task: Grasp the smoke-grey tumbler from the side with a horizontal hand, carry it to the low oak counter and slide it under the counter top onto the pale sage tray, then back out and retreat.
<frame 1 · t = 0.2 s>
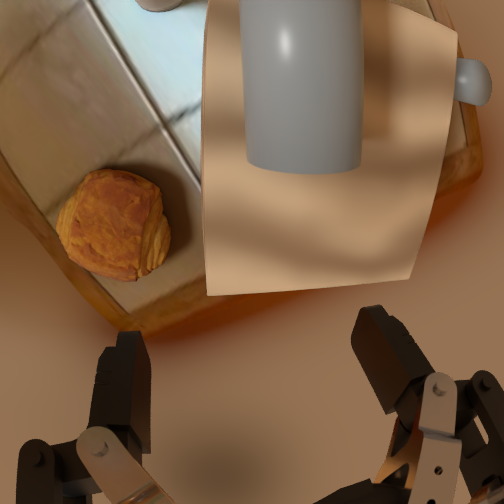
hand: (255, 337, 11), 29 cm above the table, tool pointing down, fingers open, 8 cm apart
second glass: (304, 157, 14), point 22 cm above the table, tilted 90°, touching counter
counter: (277, 114, 34), on the table
croissant: (119, 217, 38), on the table
smoke glass: (417, 73, 33), on the table
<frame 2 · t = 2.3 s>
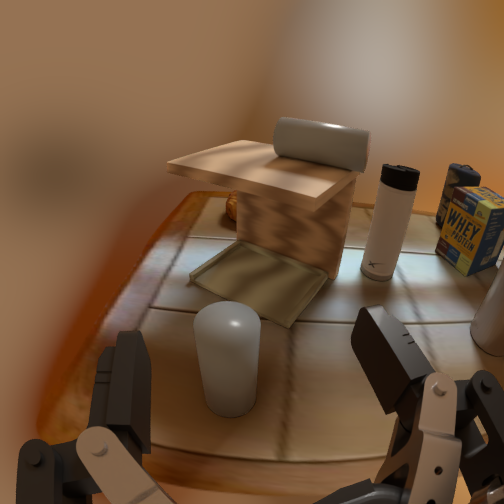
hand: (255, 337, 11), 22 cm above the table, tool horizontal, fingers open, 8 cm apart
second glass: (281, 136, 40), point 22 cm above the table, tilted 90°, touching counter
counter: (260, 279, 50), on the table
protein box: (466, 259, 57), on the table
croissant: (260, 216, 70), on the table
canister: (449, 227, 70), on the table
smoke glass: (230, 396, 31), on the table
travel mug: (376, 272, 52), on the table
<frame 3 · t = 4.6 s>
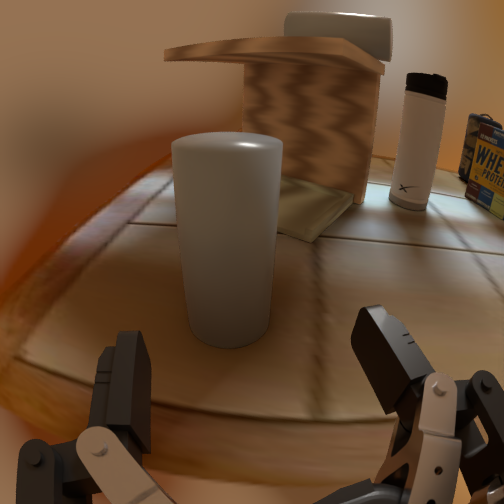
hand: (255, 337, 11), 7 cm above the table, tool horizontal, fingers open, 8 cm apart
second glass: (293, 31, 30), point 22 cm above the table, tilted 90°, touching counter
counter: (271, 199, 39), on the table
protein box: (498, 207, 46), on the table
canister: (473, 183, 59), on the table
smoke glass: (228, 318, 21), on the table
travel mug: (407, 204, 42), on the table
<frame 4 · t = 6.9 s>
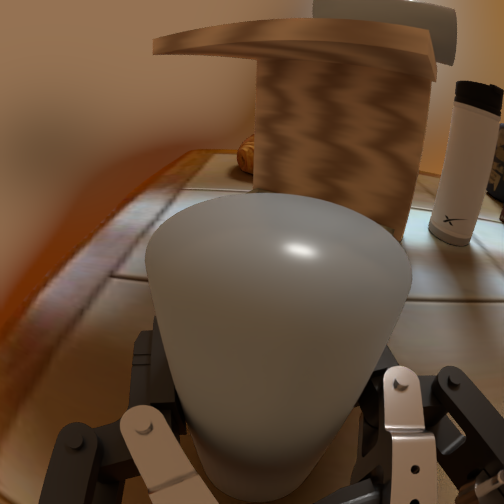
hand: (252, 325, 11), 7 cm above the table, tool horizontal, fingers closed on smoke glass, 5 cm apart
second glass: (322, 17, 21), point 22 cm above the table, tilted 90°, touching counter
counter: (294, 238, 31), on the table
croissant: (282, 171, 52), on the table
canister: (500, 199, 51), on the table
smoke glass: (257, 453, 13), on the table, touching gripper
travel mug: (449, 236, 33), on the table
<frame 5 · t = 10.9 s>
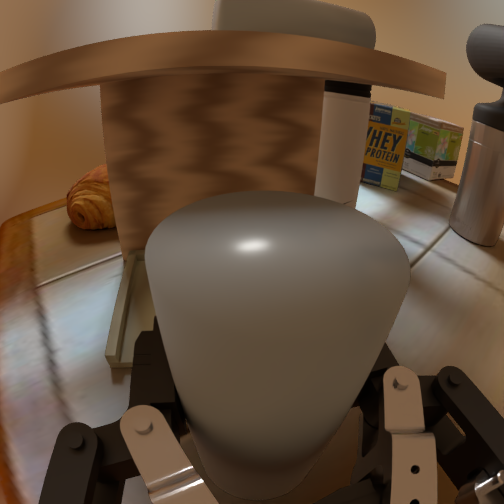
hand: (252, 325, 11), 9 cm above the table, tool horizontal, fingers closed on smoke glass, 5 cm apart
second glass: (217, 21, 18), point 22 cm above the table, tilted 90°, touching counter
tea box: (427, 173, 67), on the table
counter: (223, 297, 26), on the table
protein box: (375, 176, 60), on the table
croissant: (121, 211, 42), on the table
smoke glass: (257, 451, 13), point 2 cm above the table, touching gripper
travel mug: (331, 218, 41), on the table
when the fingers open (9 cm above the table, at t = 14.9 s): smoke glass drops 2 cm, resting on counter.
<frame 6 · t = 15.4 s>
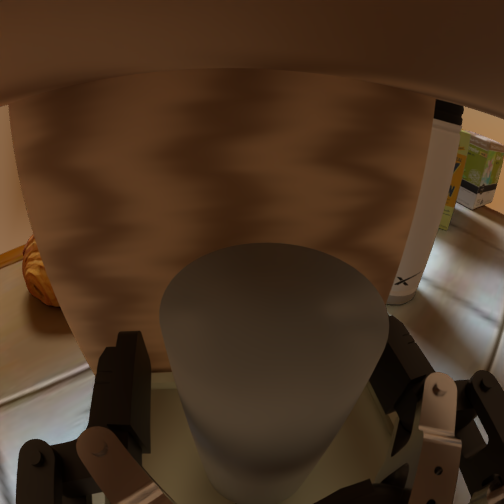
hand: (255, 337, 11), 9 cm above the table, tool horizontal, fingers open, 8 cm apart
tea box: (466, 198, 55), on the table
counter: (255, 465, 14), on the table
protein box: (417, 207, 47), on the table
croissant: (96, 271, 30), on the table
smoke glass: (256, 462, 14), point 1 cm above the table, touching counter
travel mug: (387, 287, 28), on the table
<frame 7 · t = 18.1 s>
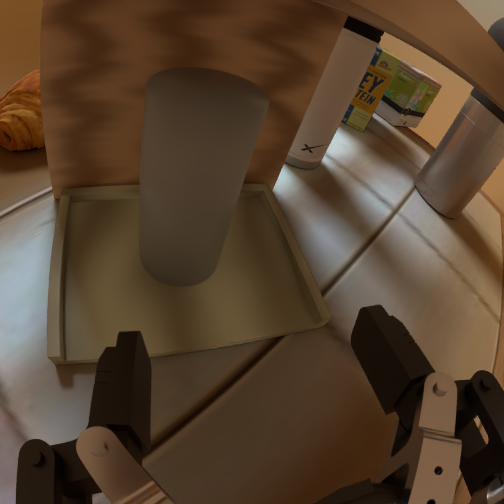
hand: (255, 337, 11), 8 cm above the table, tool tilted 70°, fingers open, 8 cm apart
tea box: (391, 117, 64), on the table
counter: (178, 258, 21), on the table
protein box: (340, 109, 53), on the table
croissant: (54, 124, 28), on the table
smoke glass: (179, 252, 21), point 1 cm above the table, touching counter
travel mug: (296, 156, 36), on the table
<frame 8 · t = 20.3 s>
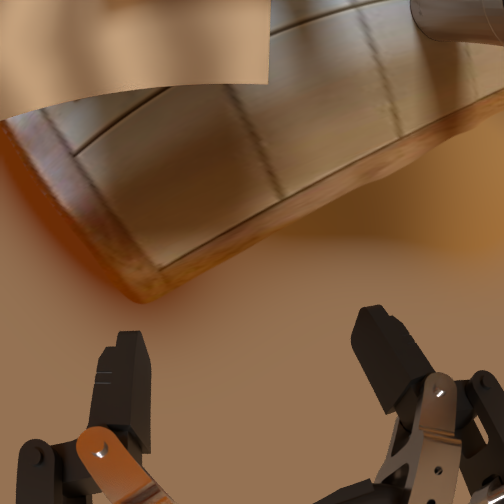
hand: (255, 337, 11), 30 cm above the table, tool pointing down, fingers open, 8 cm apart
counter: (140, 25, 26), on the table
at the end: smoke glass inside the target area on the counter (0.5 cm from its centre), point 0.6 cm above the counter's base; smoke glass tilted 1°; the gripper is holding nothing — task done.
